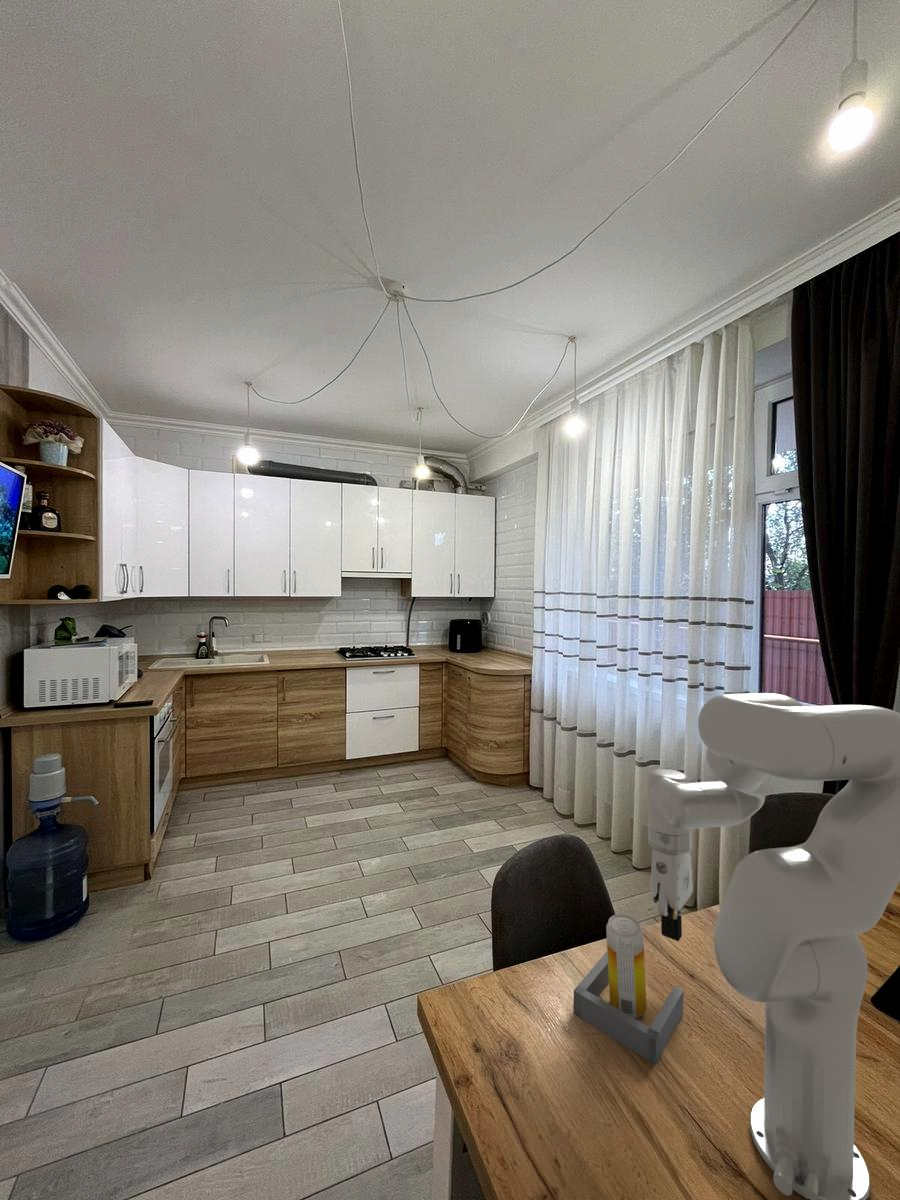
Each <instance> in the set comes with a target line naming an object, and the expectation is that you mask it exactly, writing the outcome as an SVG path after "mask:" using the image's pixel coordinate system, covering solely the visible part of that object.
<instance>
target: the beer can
mask: <svg viewBox="0 0 900 1200" xmlns="http://www.w3.org/2000/svg"><path fill="white" fill-rule="evenodd" d="M605 931H606V947H607V951H606V952H607V953H608V972H609V983H608V985H609V986H608V987H609V989H608V990H609V1002H610V1005H612V1006H614V1007H616V1008H617V1009H619V1010H621V1011H622V1012H624V1013H626V1014H627V1015H629V1016H631V1017H633V1018H634V1019H636V1020H638V1019H639V1018H640V1017H642V1016H643V1014H645V1012H646V1010H647V1007H648V1006H647V989H646V985H647V984H646V967H645V965H646V964H645V947H644V932H643V929H642V926H641V925H640V923H639V921H638V920H637V919H636V918H634V917H633V916H631V915H629V914H623V913H619V914H618V913H617V914H614V915H613V914H612V916H610V917H609V918H608V922H607V923H606V927H605Z"/></svg>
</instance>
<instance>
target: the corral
mask: <svg viewBox="0 0 900 1200" xmlns="http://www.w3.org/2000/svg"><path fill="white" fill-rule="evenodd" d="M608 985H609V972H608V953H607V951H606V952H604V954H603V955H602V956H601V958H599V960H598V961H597V962H596V963H595V965H593V967H592V968H591V969H590V970H589V971H588V973H587V974H586V975H585V976H584V977H583V979H582V980H581V981H580V982H579V983H578V984H577V986H576V987H575V988H574V990H573V1010H572V1011H573V1014H574V1015H576V1016H577V1017H579V1018H581V1019H582V1020H583V1021H585V1022H587V1023H588V1024H590V1025H591V1026H593V1027H594V1028H596V1029H598V1030H599V1031H601V1032H602V1033H604V1034H605V1035H606V1036H608V1037H610V1038H611V1039H613V1040H615V1041H616V1042H618V1043H620V1044H621V1045H622V1046H625V1047H626V1048H628V1049H629V1050H631V1051H632V1052H634V1053H635V1054H637V1055H639V1056H640V1057H642V1058H643V1059H645V1060H646V1061H649V1062H650V1063H652V1064H653V1065H655V1066H656V1065H657V1063H658V1061H659V1060H660V1057H661V1056H662V1054H663V1051H664V1050H665V1049H666V1046H667V1045H668V1042H669V1041H670V1039H671V1037H672V1035H673V1033H674V1031H675V1029H676V1027H677V1026H678V1024H679V1022H680V1020H681V1018H682V1016H683V1014H684V989H683V988H680V987H677V986H676V985H674V986H673V988H672V989H671V991H670V992H669V994H668V996H667V997H666V999H665V1001H664V1003H663V1005H662V1006H661V1007H660V1009H659V1011H658V1013H657V1014H656V1016H655V1018H654V1020H653V1021H652V1023H651V1024H650V1026H648V1025H646V1024H644V1023H643V1022H641V1021H639V1020H638V1019H634V1018H633V1017H631V1016H629V1015H627V1014H626V1013H624V1012H622V1011H621V1010H619V1009H617V1008H616V1007H614V1006H612V1005H611V1003H608V1002H607V1001H605V1000H604V999H601V998H600V997H599V996H600V995H601V993H602V992H603V990H605V988H606V987H607V986H608Z"/></svg>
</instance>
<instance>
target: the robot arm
mask: <svg viewBox="0 0 900 1200" xmlns="http://www.w3.org/2000/svg"><path fill="white" fill-rule="evenodd" d="M697 727H698V733H699V736H700V739H701V740H702V743H703V744H704V745H705V746H706V747H707V750H706V760H707V765H708V766H709V769H710V770H711V772H712V773H713V774H714V776H715V777H716V778H717V779H718V780H711V781H709V780H707V781H693V782H691V781H690V778H689V777H688V775H686V774H685V773H683V772H682V771H679V770H676V769H675V770H674V769H670V768H669V769H668V768H657V769H652V770H651V771H650V772H649V773H648V776H647V809H648V811H647V813H648V815H647V818H648V819H647V821H648V825H647V826H648V844H649V845H650V846H651V847H652V851H651V868H650V869H651V870H650V872H651V873H650V890H651V891H650V892H651V900H652V902H653V903H655V904H656V903H658V907H657V914H658V915H660V916H661V917H660V922H661V925H660V926H661V931H660V932H661V935H662V936H664V937H666V938H669V939H671V940H674V941H676V942H680V940H681V938H682V936H683V933H682V932H683V930H682V929H683V927H682V925H683V924H682V922H683V921H682V911H683V910H682V909H683V906H684V905H685V904H686V903H687V902H688V900H689V899H690V897H691V896H692V893H693V891H694V884H693V868H692V867H693V866H692V857H691V851H692V849H693V848H692V844H693V843H692V842H693V841H692V830H694V829H697V830H698V829H705V828H717V827H718V828H721V827H732V826H737V825H740V824H742V823H744V822H746V821H747V820H748V819H750V818H751V817H752V816H753V815H755V814H756V813H757V812H758V811H759V810H760V809H761V808H762V807H763V805H764V803H765V801H766V793H767V791H766V790H767V788H766V787H767V786H766V780H768V779H769V777H771V776H772V777H775V778H777V779H781V780H785V781H791V782H798V783H799V782H800V783H801V782H805V783H807V782H811V783H812V782H826V781H827V782H828V781H829V782H832V781H845V780H847V781H848V782H847V783H846V785H845V786H844V787H843V788H841V790H840V791H838V792H837V793H836V794H835V795H833V797H831V799H829V800H828V802H827V803H826V804H825V805H824V807H823V808H822V810H821V811H820V813H819V814H818V815H819V816H818V817H817V820H816V824H815V826H814V828H813V830H812V832H811V834H810V835H809V836H808V838H807V840H806V841H805V842H803V843H800V844H797V845H793V846H790V847H789V846H788V847H786V846H785V847H775V848H765V849H759V850H756V851H753V852H751V853H749V854H747V855H745V856H744V857H743V858H742V859H741V860H739V862H738V863H737V865H736V867H735V869H734V870H733V873H732V876H731V878H730V881H729V884H728V886H727V890H726V892H725V896H724V897H723V901H722V904H721V906H720V909H719V912H718V915H717V917H716V922H715V925H714V926H715V927H714V931H713V932H714V933H713V947H714V954H715V959H716V962H717V964H718V967H719V969H720V972H721V973H722V975H723V978H724V979H725V980H726V982H727V983H728V984H729V986H731V987H732V989H733V990H734V991H736V992H737V993H738V994H740V995H741V996H743V997H744V998H746V999H748V1000H751V1001H754V1002H757V1003H765V1016H764V1017H765V1018H764V1066H763V1067H764V1069H763V1070H764V1071H763V1072H764V1073H763V1082H764V1083H763V1098H761V1099H759V1100H757V1101H756V1102H755V1104H754V1105H753V1107H752V1109H751V1111H750V1114H749V1115H750V1117H749V1122H750V1124H749V1125H750V1134H751V1138H752V1140H753V1143H754V1145H755V1147H756V1149H757V1151H758V1153H759V1154H760V1156H761V1158H762V1159H763V1160H764V1162H765V1163H766V1165H767V1166H768V1167H769V1168H770V1170H771V1171H772V1172H773V1178H772V1179H773V1180H772V1181H773V1183H774V1185H775V1187H776V1188H777V1190H778V1191H779V1192H780V1193H782V1194H783V1195H785V1196H788V1197H789V1196H792V1194H793V1191H795V1193H797V1194H799V1195H800V1196H802V1197H804V1198H805V1199H807V1200H808V1199H810V1200H866V1199H867V1198H868V1199H869V1197H870V1191H871V1190H870V1188H871V1183H870V1182H871V1181H870V1180H871V1179H870V1174H869V1170H868V1166H867V1163H866V1162H865V1160H864V1158H863V1156H862V1153H861V1152H860V1151H859V1149H858V1148H857V1147H856V1145H855V1106H856V1105H855V1104H856V1100H855V1098H856V1097H855V1095H856V1094H855V1093H856V1058H857V1057H856V1056H857V1031H858V1018H859V1013H860V1009H861V1004H862V1001H863V997H864V994H865V990H866V987H867V982H868V981H867V980H868V970H869V969H868V968H869V967H868V966H869V965H868V959H867V956H866V950H865V948H864V946H863V943H862V941H861V939H860V937H859V935H860V934H862V933H866V932H868V931H870V930H872V929H873V928H874V927H875V926H876V925H877V924H878V922H879V920H880V919H881V918H882V916H883V914H884V912H885V911H886V908H887V907H888V904H889V902H890V900H891V899H892V897H893V895H894V893H895V891H896V889H897V887H898V885H899V883H900V712H898V711H895V710H892V709H889V708H887V707H886V708H885V707H881V706H875V705H866V704H864V705H863V704H830V705H803V704H802V703H801V702H800V701H798V700H796V699H795V698H793V697H789V696H788V695H785V694H780V693H772V692H771V693H770V692H760V693H759V692H756V693H754V692H753V693H724V694H719V695H716V696H713V697H712V698H709V700H707V701H706V703H704V705H703V706H702V708H701V709H700V712H699V715H698V720H697ZM868 1199H867V1200H868Z"/></svg>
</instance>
